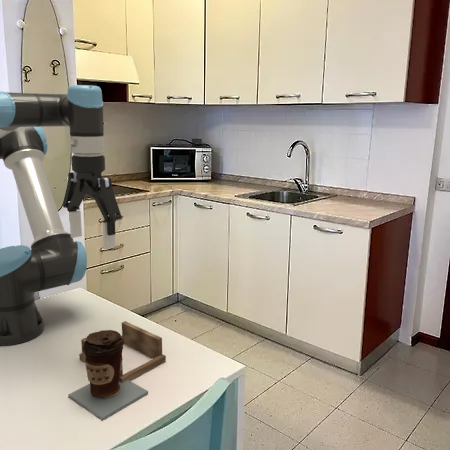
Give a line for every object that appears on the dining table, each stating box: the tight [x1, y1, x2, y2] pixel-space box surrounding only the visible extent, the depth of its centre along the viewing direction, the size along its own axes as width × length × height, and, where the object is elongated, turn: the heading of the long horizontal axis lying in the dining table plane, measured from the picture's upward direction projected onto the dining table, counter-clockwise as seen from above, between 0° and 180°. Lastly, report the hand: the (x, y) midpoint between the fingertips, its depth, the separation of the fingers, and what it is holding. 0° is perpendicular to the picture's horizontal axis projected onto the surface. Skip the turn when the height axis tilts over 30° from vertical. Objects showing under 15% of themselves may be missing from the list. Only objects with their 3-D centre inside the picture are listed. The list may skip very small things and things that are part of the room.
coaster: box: [67, 380, 149, 422], centre depth 101 cm, size 12×12×1 cm
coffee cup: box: [83, 329, 125, 398], centre depth 100 cm, size 9×8×13 cm
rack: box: [78, 320, 167, 383], centre depth 114 cm, size 16×13×6 cm
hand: (92, 242), depth 114 cm, fingers open, 13 cm apart
